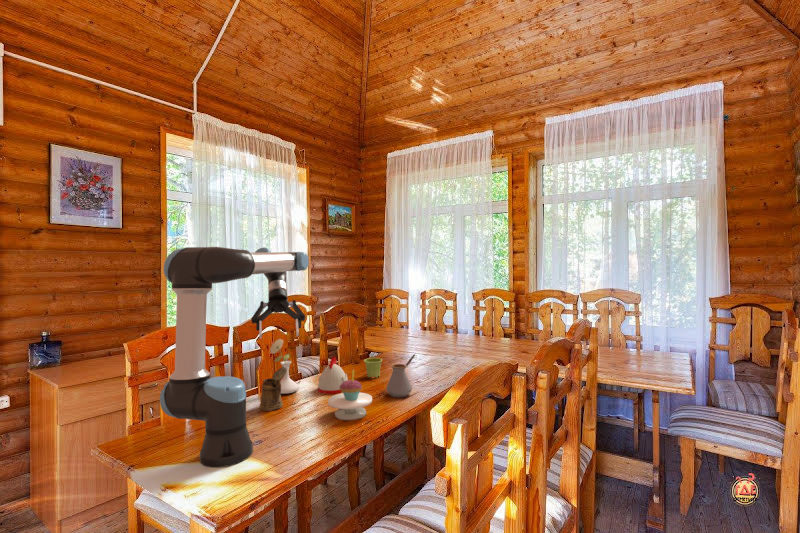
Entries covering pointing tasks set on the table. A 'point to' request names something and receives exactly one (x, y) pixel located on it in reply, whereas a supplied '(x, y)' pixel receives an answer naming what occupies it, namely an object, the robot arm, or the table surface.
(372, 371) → the plant pot
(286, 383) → the flower in vase
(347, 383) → the cupcake
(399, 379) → the coffee pot
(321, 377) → the kitchen timer
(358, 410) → the cake stand
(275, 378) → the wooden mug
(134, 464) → the table surface
